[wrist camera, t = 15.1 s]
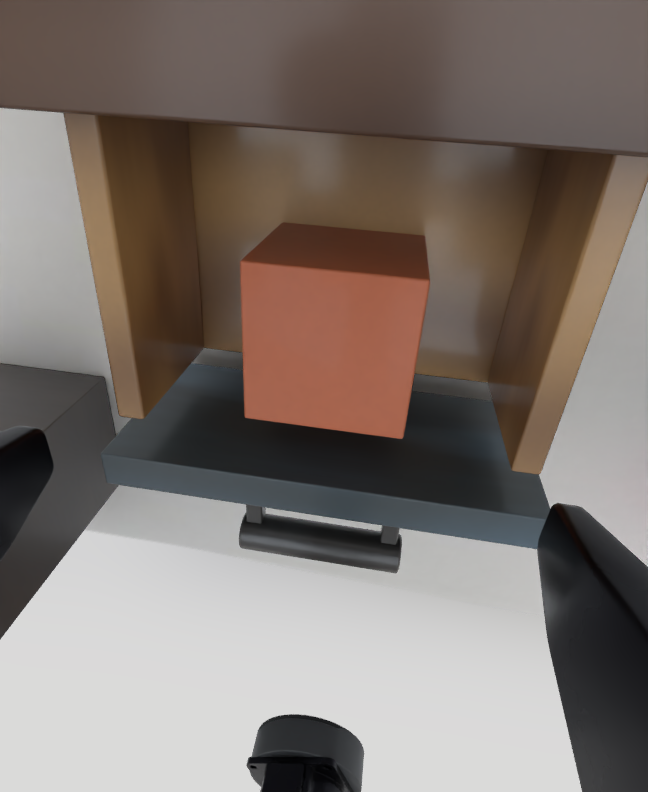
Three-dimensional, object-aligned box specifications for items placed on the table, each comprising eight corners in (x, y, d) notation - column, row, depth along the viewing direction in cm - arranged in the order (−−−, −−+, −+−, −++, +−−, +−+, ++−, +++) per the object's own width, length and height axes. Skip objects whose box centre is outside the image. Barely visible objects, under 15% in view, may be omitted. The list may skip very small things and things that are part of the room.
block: (405, 366, 18) (403, 440, 14) (279, 351, 18) (243, 418, 14) (426, 235, 15) (430, 280, 12) (281, 221, 16) (238, 260, 12)
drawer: (483, 508, 22) (505, 640, 17) (191, 465, 23) (125, 574, 18) (731, -310, 10) (1087, -770, 5) (115, -303, 12) (-143, -657, 6)
